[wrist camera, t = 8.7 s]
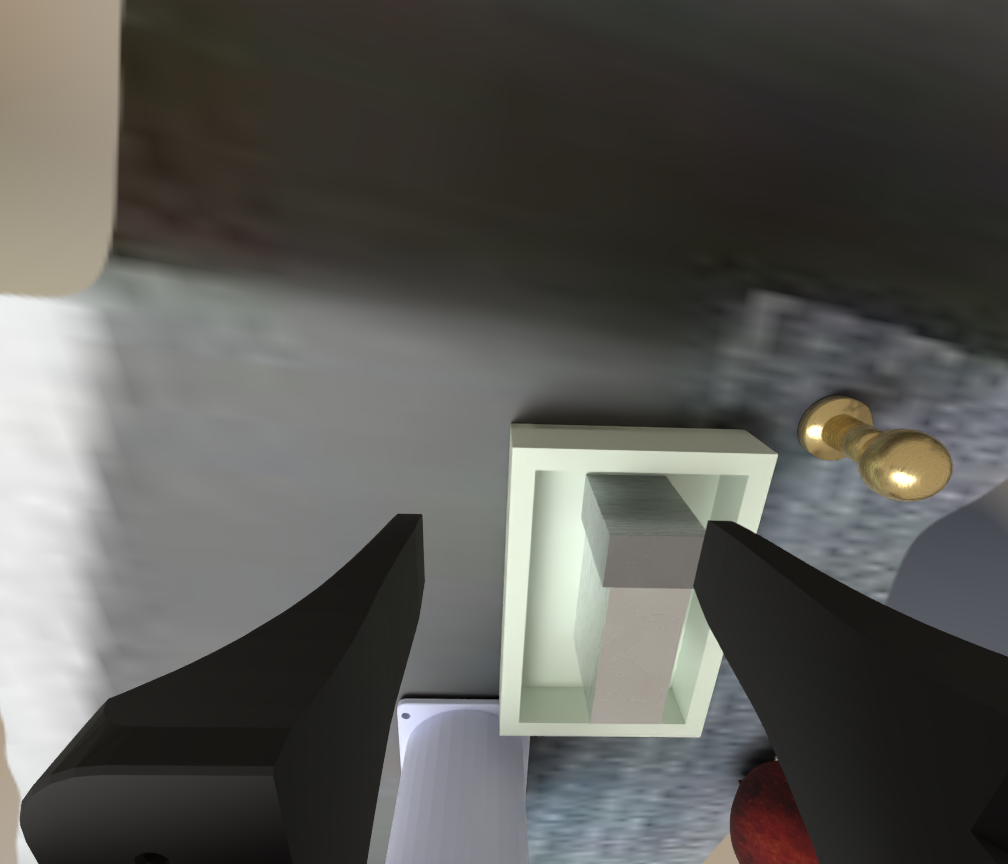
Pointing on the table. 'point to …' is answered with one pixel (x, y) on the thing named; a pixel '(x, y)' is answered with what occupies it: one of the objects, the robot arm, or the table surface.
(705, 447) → the tray
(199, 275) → the table surface
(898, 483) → the door knob
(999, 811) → the robot arm
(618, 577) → the strut
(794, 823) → the apple
